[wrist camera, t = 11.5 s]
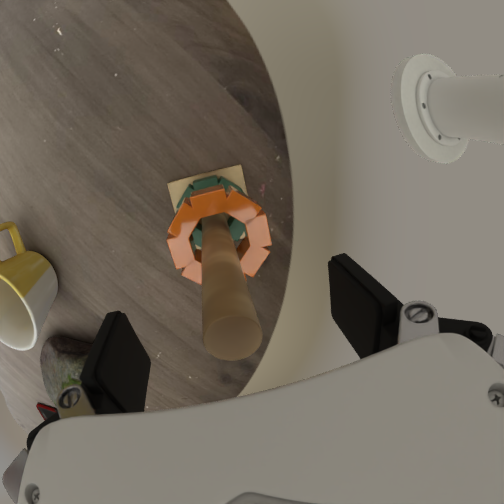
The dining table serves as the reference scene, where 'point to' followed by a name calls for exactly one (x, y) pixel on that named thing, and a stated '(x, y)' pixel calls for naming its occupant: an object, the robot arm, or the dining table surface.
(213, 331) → the post
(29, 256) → the mug
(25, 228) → the dining table surface
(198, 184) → the green ring
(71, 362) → the stone
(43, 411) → the cell phone
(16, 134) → the dining table surface
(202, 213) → the orange ring
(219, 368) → the dining table surface
